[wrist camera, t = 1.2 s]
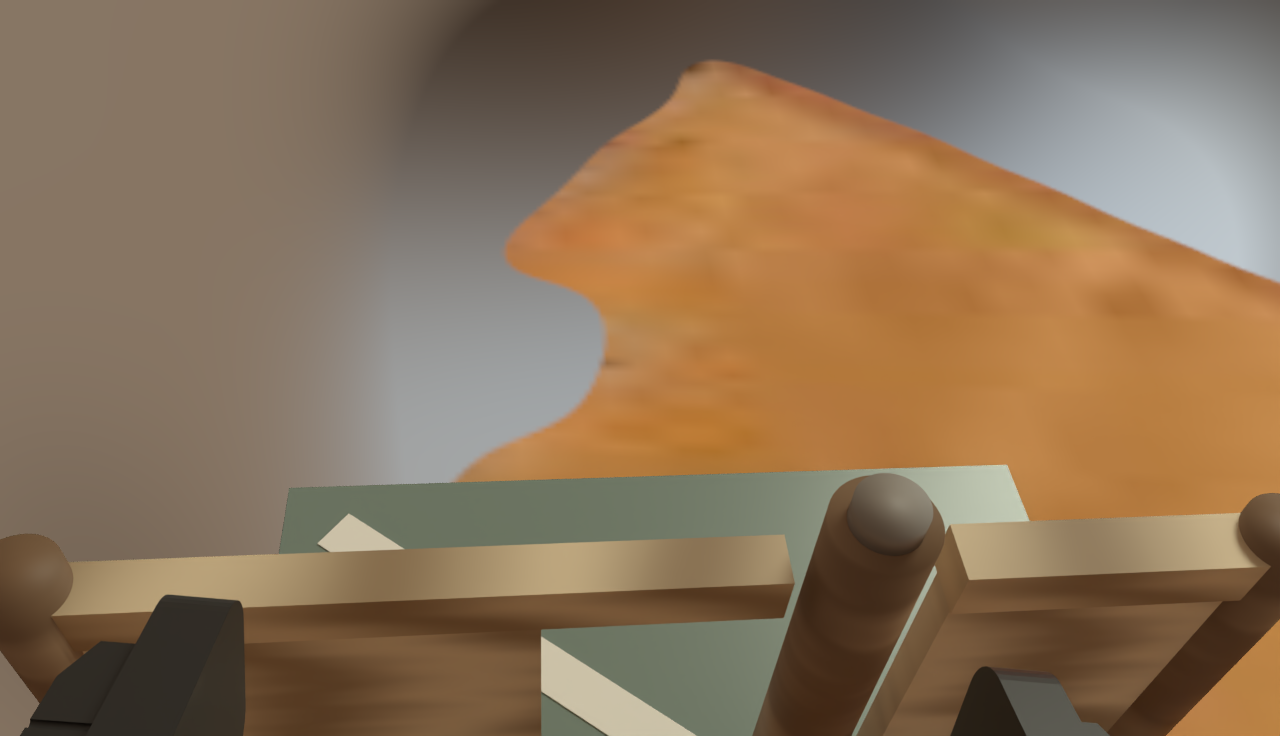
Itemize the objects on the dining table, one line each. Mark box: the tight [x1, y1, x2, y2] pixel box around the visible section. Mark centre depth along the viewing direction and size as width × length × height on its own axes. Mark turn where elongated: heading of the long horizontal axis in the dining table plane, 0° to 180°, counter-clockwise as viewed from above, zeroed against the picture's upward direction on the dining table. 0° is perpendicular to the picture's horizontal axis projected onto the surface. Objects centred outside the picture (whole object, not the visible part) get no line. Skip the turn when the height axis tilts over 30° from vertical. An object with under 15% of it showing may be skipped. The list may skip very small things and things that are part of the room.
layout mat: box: [279, 465, 1029, 736], centre depth 35 cm, size 28×20×1 cm
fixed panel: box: [856, 493, 1280, 736], centre depth 29 cm, size 8×2×15 cm, turn 95°
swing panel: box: [0, 534, 795, 736], centre depth 27 cm, size 16×2×14 cm, turn 95°
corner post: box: [752, 473, 945, 736], centre depth 27 cm, size 2×2×16 cm
